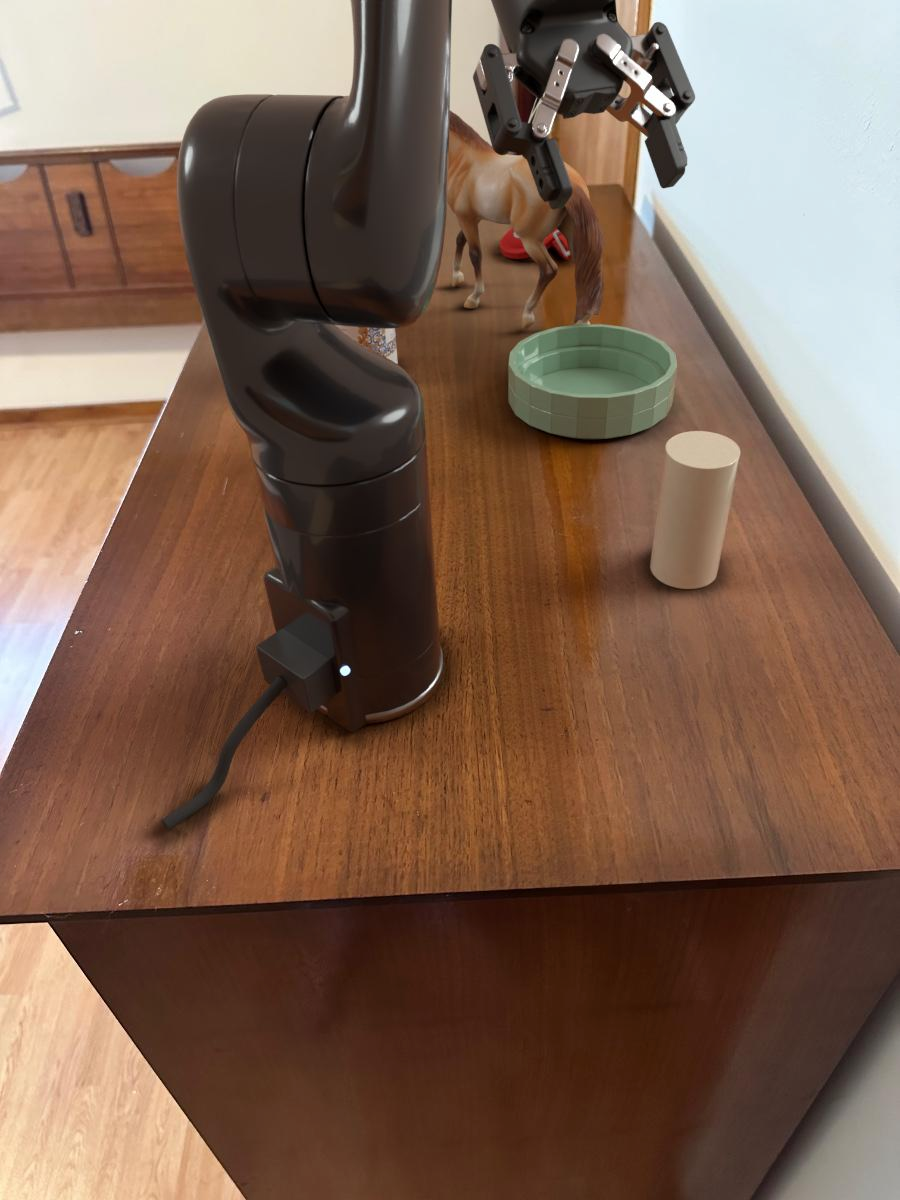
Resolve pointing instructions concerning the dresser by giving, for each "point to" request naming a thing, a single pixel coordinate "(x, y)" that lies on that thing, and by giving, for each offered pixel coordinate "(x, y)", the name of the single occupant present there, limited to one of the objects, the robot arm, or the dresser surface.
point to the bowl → (591, 381)
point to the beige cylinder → (693, 508)
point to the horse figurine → (520, 218)
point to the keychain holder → (516, 250)
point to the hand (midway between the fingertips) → (620, 191)
